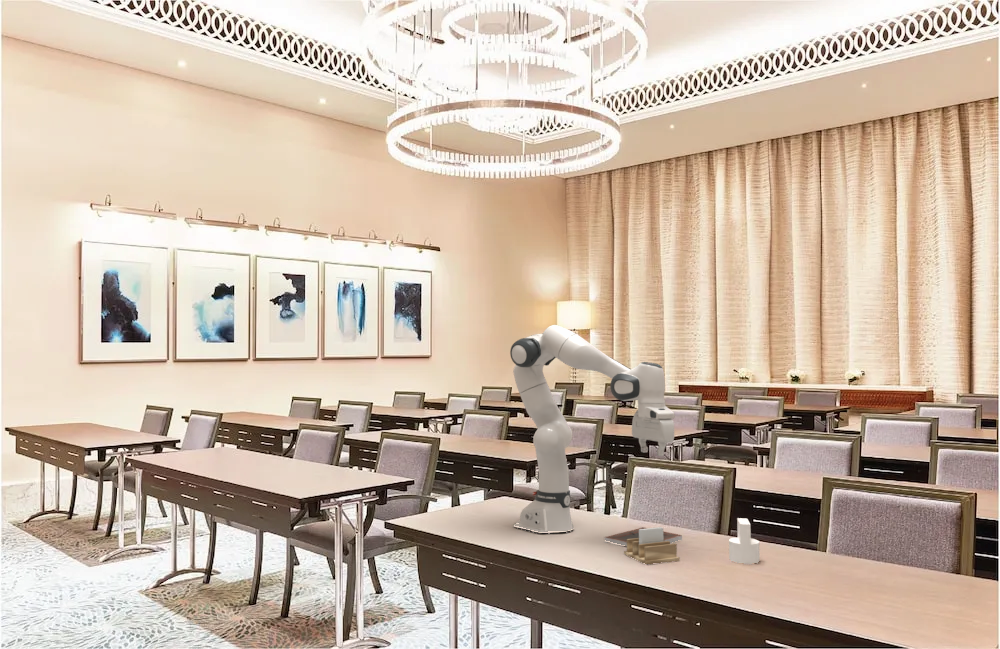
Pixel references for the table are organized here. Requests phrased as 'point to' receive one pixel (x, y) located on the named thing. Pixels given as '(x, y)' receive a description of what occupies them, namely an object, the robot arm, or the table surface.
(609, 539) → the picture frame
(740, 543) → the cylinder with rectangular tab
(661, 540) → the grey block
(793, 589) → the table surface
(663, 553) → the rack
